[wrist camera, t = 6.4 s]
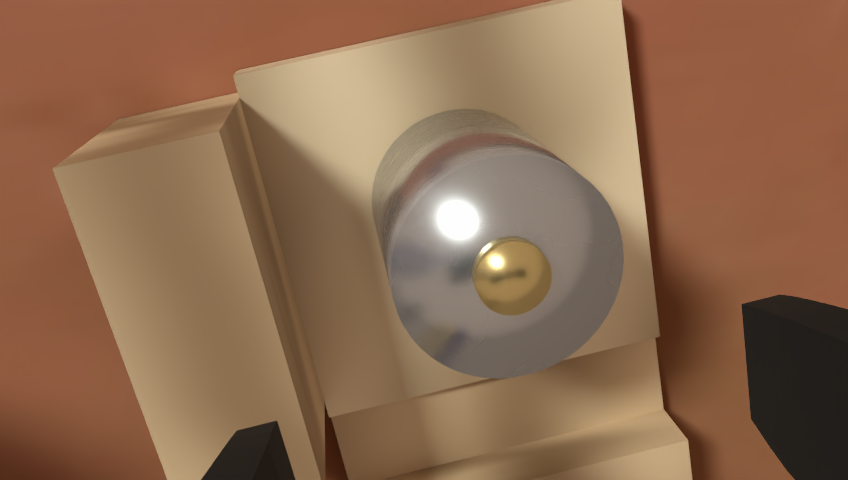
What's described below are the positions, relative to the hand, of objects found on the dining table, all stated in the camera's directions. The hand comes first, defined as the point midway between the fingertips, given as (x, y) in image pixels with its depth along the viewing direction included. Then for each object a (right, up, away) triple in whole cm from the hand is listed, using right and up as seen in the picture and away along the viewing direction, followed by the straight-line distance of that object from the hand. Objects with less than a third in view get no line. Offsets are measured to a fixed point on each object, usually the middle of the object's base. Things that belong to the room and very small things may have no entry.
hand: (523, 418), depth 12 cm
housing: (-1, +4, +8) cm, 8 cm away
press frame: (-1, -1, +10) cm, 10 cm away
